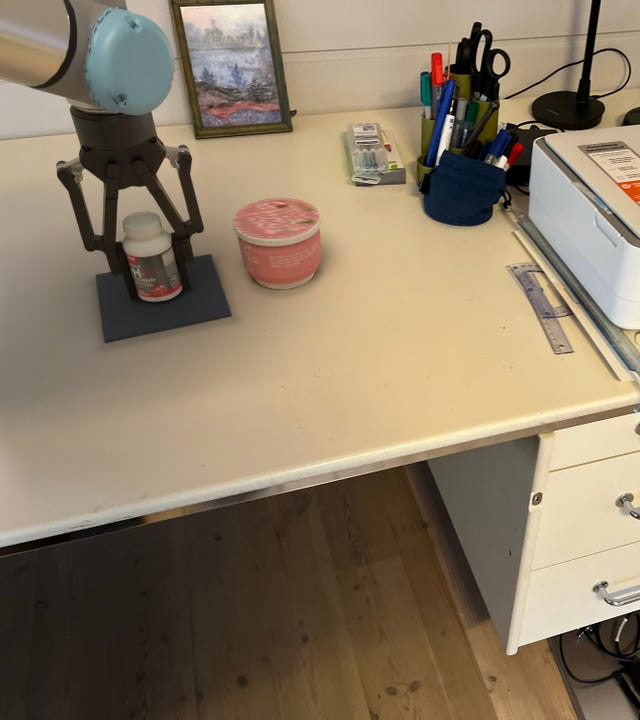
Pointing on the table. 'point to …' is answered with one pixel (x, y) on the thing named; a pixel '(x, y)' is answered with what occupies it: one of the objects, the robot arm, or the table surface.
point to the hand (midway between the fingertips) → (160, 288)
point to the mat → (161, 303)
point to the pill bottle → (151, 257)
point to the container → (279, 241)
